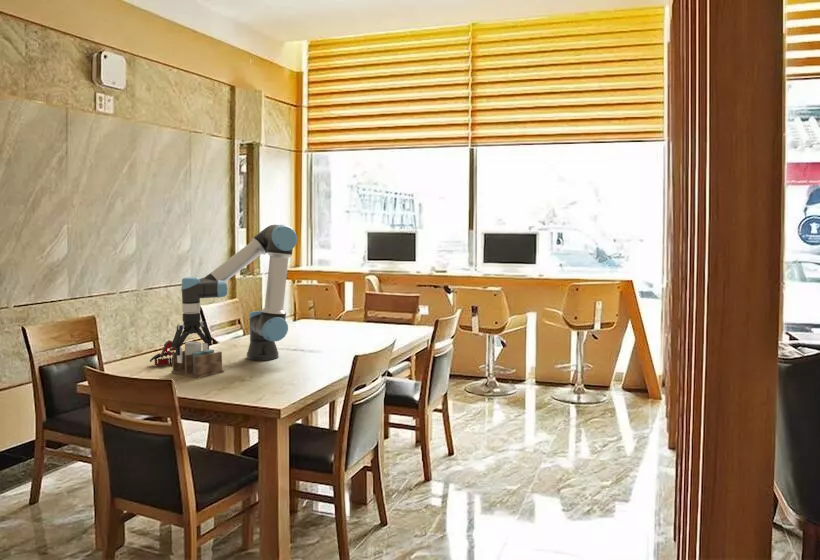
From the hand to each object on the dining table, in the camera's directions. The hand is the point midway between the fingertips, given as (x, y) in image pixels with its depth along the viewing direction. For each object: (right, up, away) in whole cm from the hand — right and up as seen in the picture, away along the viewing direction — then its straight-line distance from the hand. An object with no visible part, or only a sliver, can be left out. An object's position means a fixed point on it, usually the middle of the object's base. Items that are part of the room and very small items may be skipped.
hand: (192, 360), depth 314 cm
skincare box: (0, -4, 0) cm, 4 cm away
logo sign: (-16, -4, +16) cm, 23 cm away
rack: (+2, -5, -1) cm, 6 cm away
